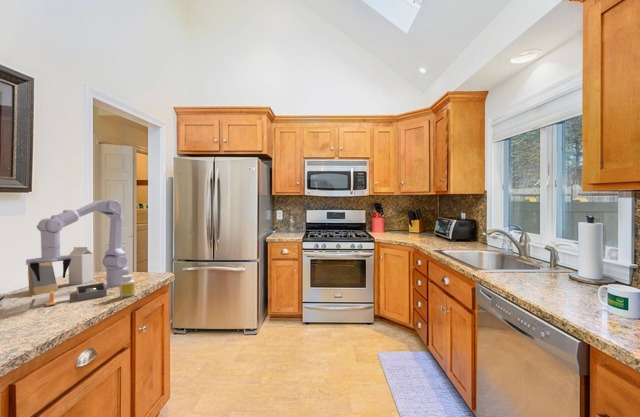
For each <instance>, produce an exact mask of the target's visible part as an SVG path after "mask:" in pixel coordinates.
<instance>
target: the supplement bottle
mask: <svg viewBox="0 0 640 417" xmlns="http://www.w3.org/2000/svg"><path fill="white" fill-rule="evenodd" d="M133 276H134V275H133V274H129V275H124V276H122V281H121V282H120V286H119V298H120V299H123V300H124V299H125V300H126V299H130V298H133V297H135V294H136V293H135V292H136V291H135V287H136V286H135V280H134V279H133Z"/></svg>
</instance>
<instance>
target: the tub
mask: <svg viewBox="0 0 640 417" xmlns="http://www.w3.org/2000/svg"><path fill="white" fill-rule="evenodd" d="M105 284H106V283H104V282H100V283H99V282H98V283H95V284H94V283H93V284H87V285H80V286H76V301H77V302H81V301H85V300H92V299H96V298H104V297H107V296H108V295H107V288H106V286H105ZM90 287H96V289H97V291H92V292H86V291H85V289H86V288H90Z"/></svg>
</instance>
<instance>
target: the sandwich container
mask: <svg viewBox="0 0 640 417" xmlns="http://www.w3.org/2000/svg"><path fill="white" fill-rule="evenodd" d="M50 261H52V260H50ZM39 273H40V281H37V278H36V275H35V273H34V272H33V270H32V269H31V268H30V265H27V275H28V276H27V278H28V279H27V280H28V291H29V293H30V294H31V295H32V296H41V295H44V294H45V295H47V294H50V291H54V293H55V292H59V289H58V288H59V287H58V284H57V279H56V274H55V270H54V266H53V262H46V263H39Z"/></svg>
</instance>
